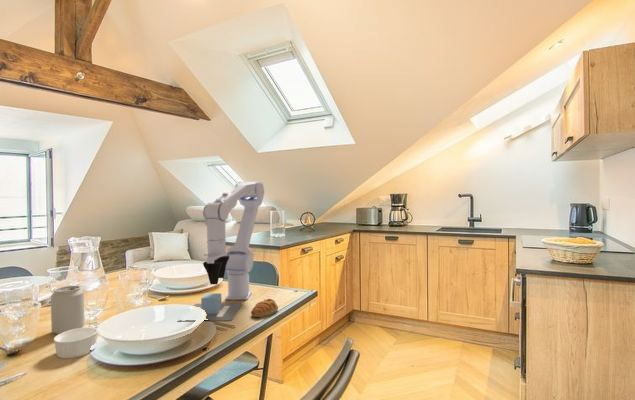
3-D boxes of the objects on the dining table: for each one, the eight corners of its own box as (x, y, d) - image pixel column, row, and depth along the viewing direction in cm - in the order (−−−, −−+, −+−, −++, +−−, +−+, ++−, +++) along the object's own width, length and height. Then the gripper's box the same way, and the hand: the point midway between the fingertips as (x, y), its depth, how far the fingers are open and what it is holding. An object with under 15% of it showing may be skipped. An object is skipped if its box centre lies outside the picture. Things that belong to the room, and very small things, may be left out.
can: (90, 327, 101) (89, 285, 101) (64, 337, 94) (63, 292, 94) (72, 324, 104) (71, 283, 103) (45, 334, 96) (43, 290, 96)
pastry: (264, 320, 106) (264, 307, 106) (245, 317, 109) (245, 305, 108) (279, 310, 114) (279, 299, 114) (261, 308, 117) (261, 296, 117)
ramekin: (64, 363, 80) (64, 344, 80) (47, 354, 84) (46, 336, 84) (105, 348, 87) (105, 331, 87) (87, 341, 92) (86, 324, 92)
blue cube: (206, 308, 115) (205, 293, 115) (221, 308, 116) (221, 293, 115) (201, 314, 110) (201, 298, 110) (217, 313, 111) (217, 297, 110)
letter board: (195, 304, 121) (195, 303, 121) (242, 303, 121) (242, 303, 121) (177, 321, 105) (177, 320, 105) (231, 320, 105) (231, 320, 105)
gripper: (210, 236, 122) (211, 275, 123) (196, 243, 108) (197, 287, 108) (231, 236, 122) (231, 275, 123) (219, 242, 108) (220, 286, 108)
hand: (217, 280), depth 116 cm, fingers open, 7 cm apart
